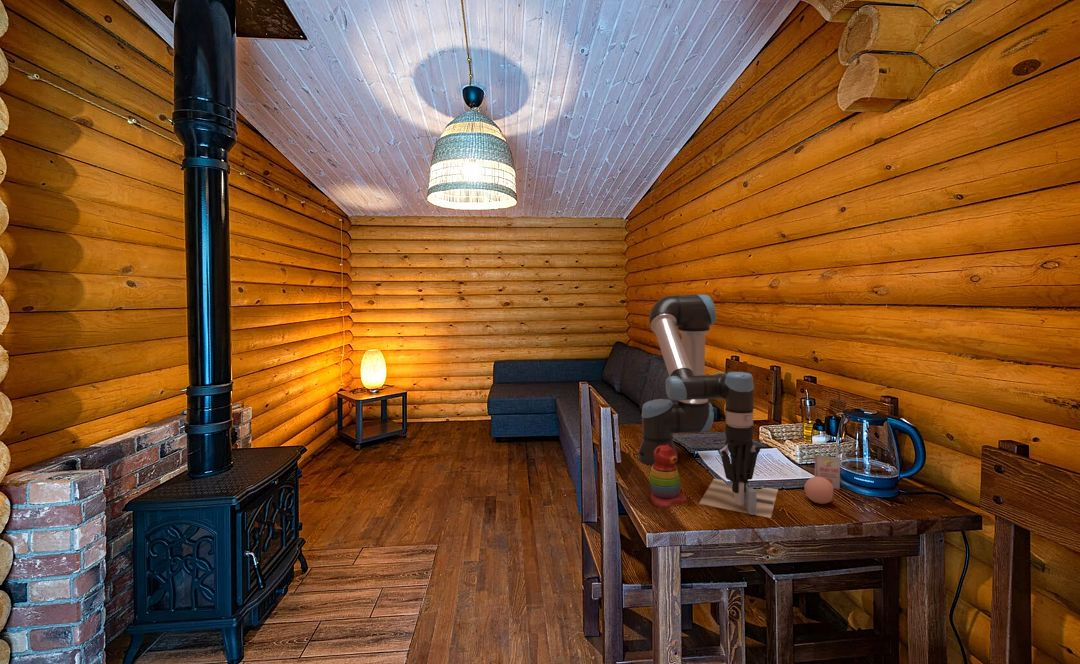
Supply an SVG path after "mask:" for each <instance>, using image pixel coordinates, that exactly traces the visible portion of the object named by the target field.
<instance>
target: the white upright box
mask: <svg viewBox="0 0 1080 664" xmlns="http://www.w3.org/2000/svg"><path fill="white" fill-rule="evenodd" d="M814 457H815V458H814V477H823V478H825V479H827V480H828V481H829V482H831V484H832V485H833V488H834V489H833V490H838V491H839V490H840V487H841V485H840V484H841V483H840V482H841V471H840V470H841V468H840V461H841V460H840V457H833V456H826V455H825V456H824V455H818V454H817V455H815V456H814Z"/></svg>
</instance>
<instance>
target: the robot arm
mask: <svg viewBox="0 0 1080 664" xmlns="http://www.w3.org/2000/svg"><path fill="white" fill-rule="evenodd" d="M648 317H649V318H648V322H649V326H650V330H651V332H652V333H654V334H655V336H656V338H657V339H656V340H657V342H658V346H659V348H660V351H661V355H662V358H663V361H664V364H665V367H666V370H667V373H668V377H666V379H665V383H664V384H665V394H666V396H667V398H657V399H652V400H649V401H646V402H644V403H643V404H642V407H641V409H642V410H641V421H642V422H641V426H642V427H641V429H642V433H641V434H642V440H641V443H640V447H639V450H638V454H637V455H638V460H639V461H640V462H641V463H643V464H646V465H648V466H649V465H650V466H653V464H654V463H655V462H656V461H655V459H654V450H655V449H656V448H657V447H658V446H661V445H667V444H670V445H671V448H673V450H674V451H675V452H676V454H677V460H676V462H675V464H677V463H678V462H679V461H678V459H679V458H678V457H679V456H678V455H679V454H678V452H677V449H676V445H675V444H674V439H673V438H674V437H673V436H674V434H687V433H688V434H690V433H691V434H695V433H696V434H699V433H707V432H708V431H710V430H711V428H712V426H713V424H714V420H715V419H714V418H715V415H714V414H715V413H714V407H713V405H712V402H709V400H718V399H719V400H720V399H723V400H724V401H725V417H724V418H725V437H726V438H725V439H726V441H725V443H724V445H725V446H723V447H722V448H718V449H717V452H718V454H719V455H720V457H721V462H722V463H721V464H722V467H723V472H724V474H725V475H724V476H725V478H726V480H727V481H731V482H732V491H733V492H734V501H735V502H736V503H738V504H739V505H744V492H746V484H749V480H752V479H753V477H754V472H755V467H756V464H757V459H758V455H759V453H760V452H761V447H759V446H756V445H754V441H753V439H754V427H753V425H754V390H755V385H754V377H753V375H752V374H751V373H750V372H745V371H730V372H727V373H726V372H717V373H714V374H708V375H707V374H706V373H705V372H706V371H705V368H706V367H705V364H706V361H705V359H706V335H707V333H709V332H710V328H711V326H712V325H714V324H715V323H716V320H717V312H716V307H715V303H714V301H713V299H712V298H711V297H710V296H709V295H707V294H694V293H693V294H680V295H679V294H678V295H666V296H664V297H662V298H659V299H658V300H657V302H655V303H654V305H653V306H652V308H651V309H650V311H649V316H648ZM679 334H681V337H680V335H679ZM705 374H706V375H705ZM673 401H676V402H674V403H673Z"/></svg>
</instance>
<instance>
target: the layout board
mask: <svg viewBox="0 0 1080 664" xmlns="http://www.w3.org/2000/svg"><path fill="white" fill-rule="evenodd" d="M723 480H724V479H720V478H719V479H718V478H713V480H712V481H711V483H710V484H709V486H708V488H707V489H706V491H705V493H704V494H703V495H702V498H701V499H700V501H699V503H698V504H699V505H703V506H709V507H714V508H718V509H724V510H729V511H733V512H739V513H743V514H749V513H748V510H747V509H746V505H739V504H738V503H736V502H735V501H734V492H733V491H732V486H729V485H727V484H726V483H725V482H724V481H723ZM754 490H755V491H756V515H755V516H758V517H764V518H769V519H772V515H773V512H774V506H775V504H776V499H777V495H778V491H779V489H778V488H771V487H767V488H762V489H754ZM749 515H750V514H749Z"/></svg>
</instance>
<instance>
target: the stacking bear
mask: <svg viewBox="0 0 1080 664" xmlns="http://www.w3.org/2000/svg"><path fill="white" fill-rule="evenodd" d="M677 454H678V453H677ZM677 454H676V452H675V451H674V450H673V448H671V445H670V444H667V445H661V446H658V447H657V448H656V449H655V450H654V459H655V461H656V462H655V463H654V464H653V465H651V468H650V473H649V485H650V489H651V490H650V491H651V495H650V501H651V503H652V504H653V505H654V506H656V507H659V508H664V509H668V508H671V507H672V506H673V505H675V504H685V503H687V502H688V498H687V497H686V496H685V495H684V494H682V493H680V487H681V477H680V474H679V470H678V466H677V462H676V460H677ZM675 462H676V463H675Z"/></svg>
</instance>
